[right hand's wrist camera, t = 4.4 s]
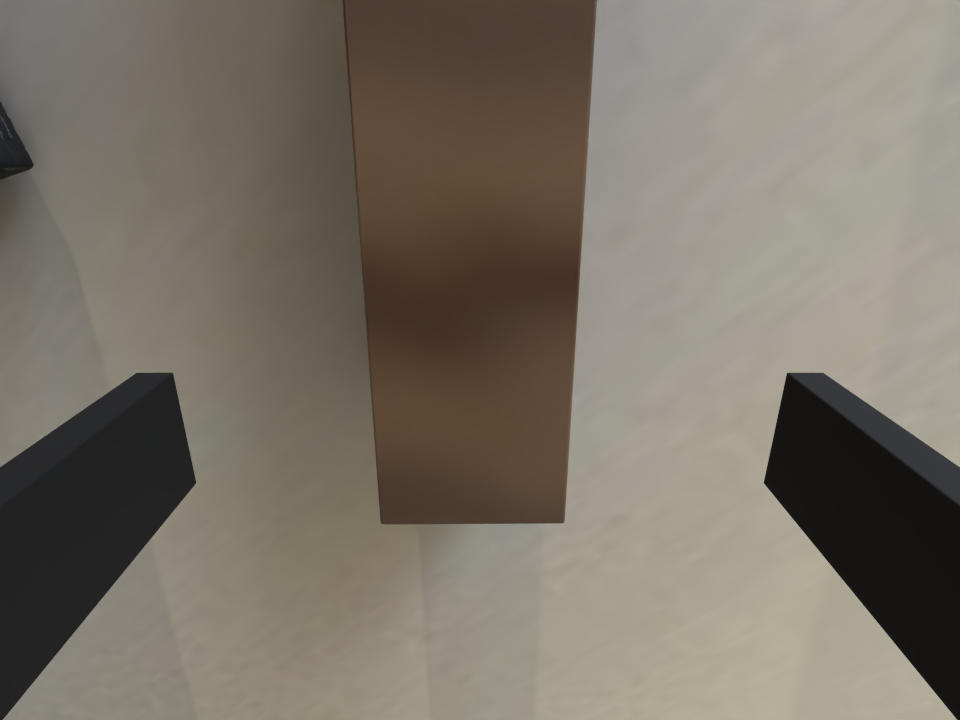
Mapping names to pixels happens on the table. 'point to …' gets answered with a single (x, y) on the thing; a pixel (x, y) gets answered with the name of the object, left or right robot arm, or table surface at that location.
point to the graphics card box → (11, 149)
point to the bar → (470, 247)
